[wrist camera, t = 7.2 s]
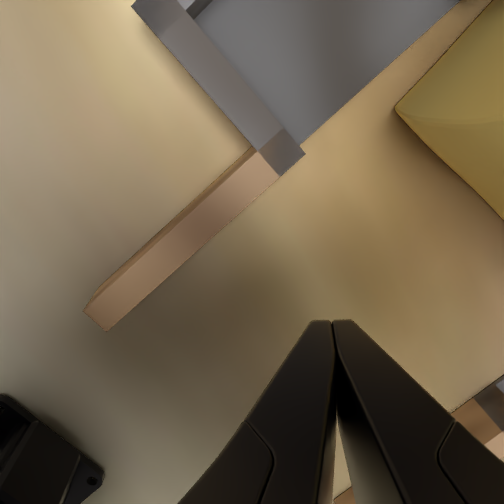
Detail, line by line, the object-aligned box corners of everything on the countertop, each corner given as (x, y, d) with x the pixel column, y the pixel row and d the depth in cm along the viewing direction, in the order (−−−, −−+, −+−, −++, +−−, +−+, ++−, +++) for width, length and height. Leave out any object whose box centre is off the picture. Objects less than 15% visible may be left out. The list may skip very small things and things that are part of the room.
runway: (413, 572, 26) (446, 652, 22) (-15, 182, 18) (-78, 202, 14) (775, 326, 23) (888, 370, 19) (435, -278, 15) (508, -411, 11)
